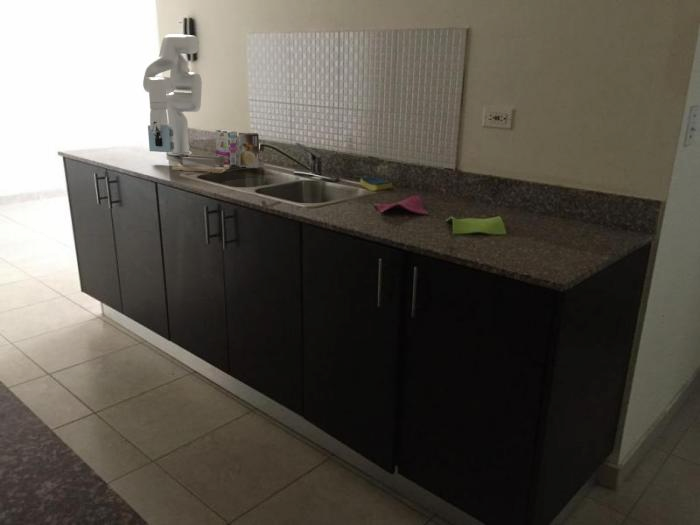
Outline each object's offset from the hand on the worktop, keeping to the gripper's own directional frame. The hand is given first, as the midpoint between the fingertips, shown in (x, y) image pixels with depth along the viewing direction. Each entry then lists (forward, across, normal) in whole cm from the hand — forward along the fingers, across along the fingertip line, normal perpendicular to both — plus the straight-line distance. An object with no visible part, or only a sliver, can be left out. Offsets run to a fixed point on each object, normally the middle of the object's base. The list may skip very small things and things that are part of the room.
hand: (161, 145), depth 281 cm
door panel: (+3, 0, 0) cm, 3 cm away
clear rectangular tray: (+9, +7, +22) cm, 25 cm away
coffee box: (+9, -6, +41) cm, 43 cm away
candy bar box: (+9, -9, +29) cm, 32 cm away
